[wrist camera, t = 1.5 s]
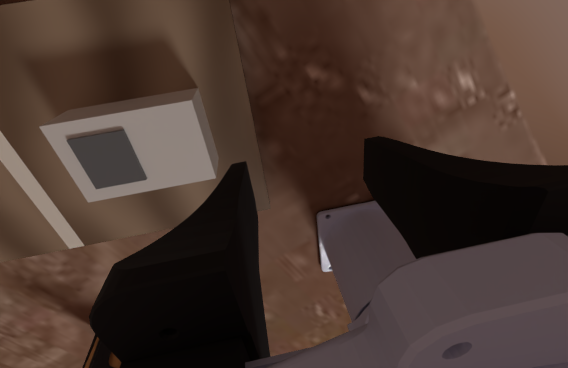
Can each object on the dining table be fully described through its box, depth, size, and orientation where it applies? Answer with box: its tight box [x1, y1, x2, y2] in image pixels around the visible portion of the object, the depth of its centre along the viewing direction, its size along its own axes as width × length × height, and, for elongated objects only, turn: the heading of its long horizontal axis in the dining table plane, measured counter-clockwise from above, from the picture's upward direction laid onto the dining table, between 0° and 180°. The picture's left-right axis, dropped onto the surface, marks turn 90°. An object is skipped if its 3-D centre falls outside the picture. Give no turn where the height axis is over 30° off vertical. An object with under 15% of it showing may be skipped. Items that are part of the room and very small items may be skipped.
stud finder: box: [39, 88, 218, 203], centre depth 17 cm, size 8×5×3 cm, turn 97°
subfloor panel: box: [0, 0, 271, 262], centre depth 19 cm, size 22×16×1 cm
